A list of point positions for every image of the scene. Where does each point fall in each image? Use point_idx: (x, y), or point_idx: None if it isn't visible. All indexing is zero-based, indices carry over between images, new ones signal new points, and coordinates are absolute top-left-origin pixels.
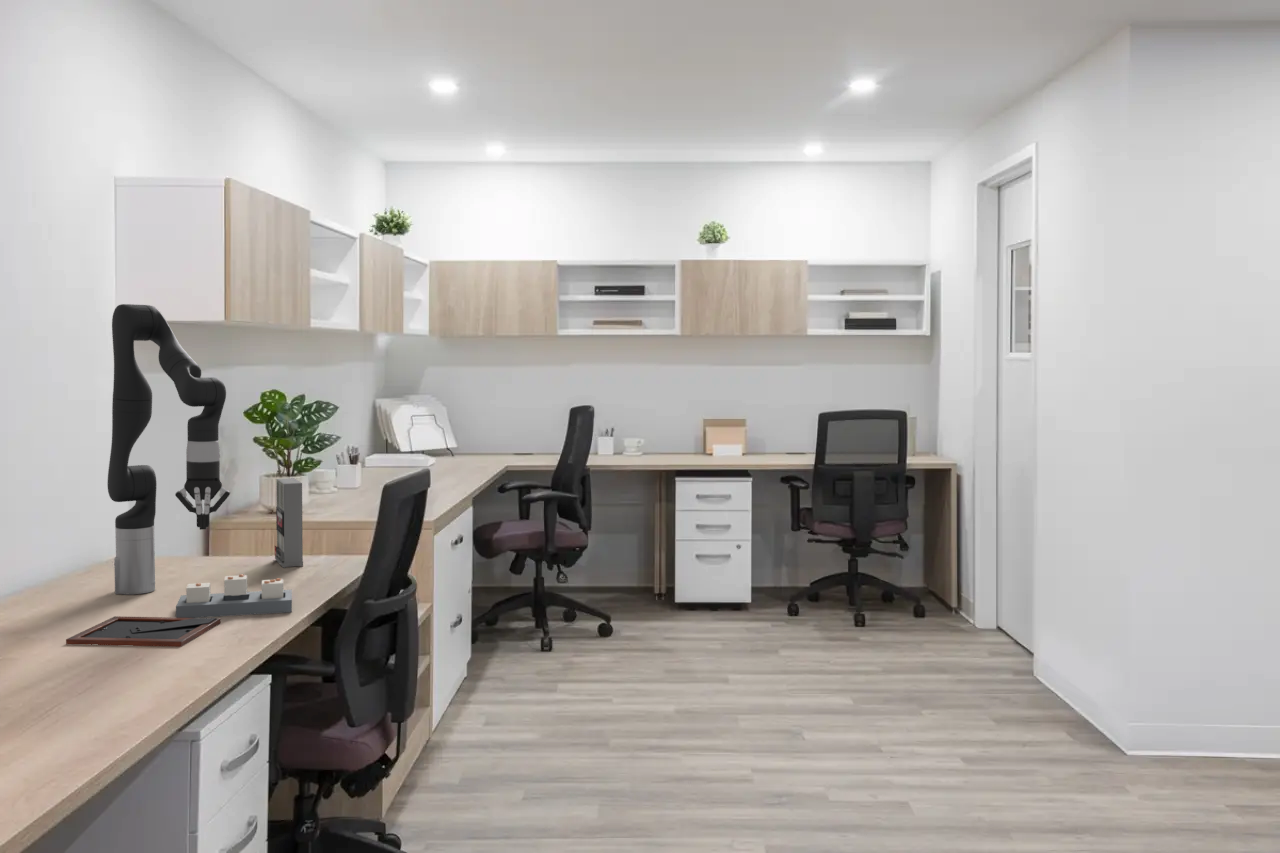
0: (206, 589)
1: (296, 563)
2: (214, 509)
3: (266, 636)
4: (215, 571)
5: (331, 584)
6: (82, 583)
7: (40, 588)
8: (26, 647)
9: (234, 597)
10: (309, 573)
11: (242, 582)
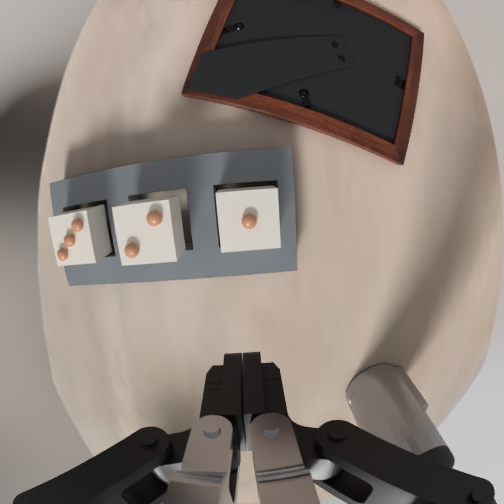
0: (222, 191)
1: None
2: (145, 438)
3: (103, 14)
4: None
5: (68, 378)
6: None
7: (460, 388)
8: (456, 47)
9: None
10: None
11: (124, 204)
